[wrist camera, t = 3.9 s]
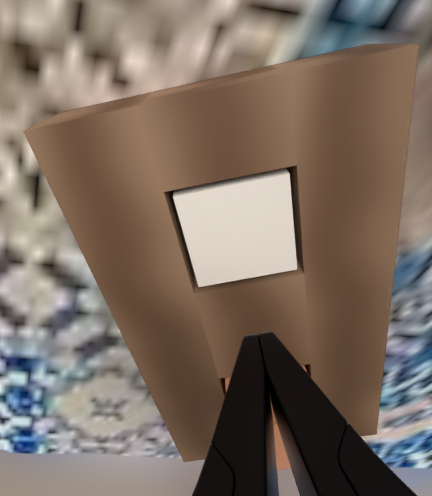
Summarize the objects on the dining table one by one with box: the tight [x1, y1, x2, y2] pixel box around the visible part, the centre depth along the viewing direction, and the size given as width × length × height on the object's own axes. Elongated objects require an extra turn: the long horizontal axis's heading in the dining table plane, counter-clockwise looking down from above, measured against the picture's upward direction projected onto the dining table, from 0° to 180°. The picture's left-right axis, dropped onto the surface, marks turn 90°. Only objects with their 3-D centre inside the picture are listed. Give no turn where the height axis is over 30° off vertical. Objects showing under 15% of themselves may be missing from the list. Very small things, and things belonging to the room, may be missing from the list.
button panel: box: [23, 44, 419, 462], centre depth 19 cm, size 14×24×4 cm, turn 11°
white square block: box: [173, 168, 297, 287], centre depth 16 cm, size 5×5×4 cm
